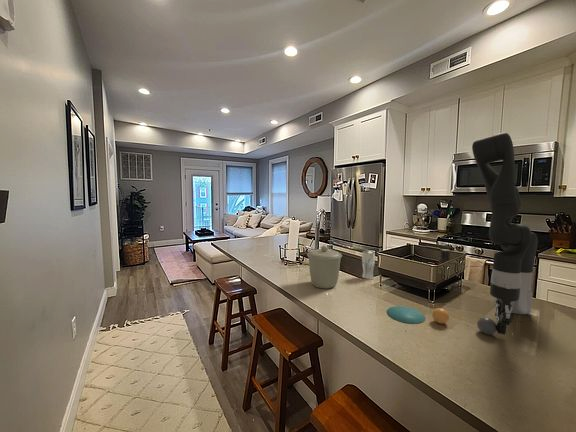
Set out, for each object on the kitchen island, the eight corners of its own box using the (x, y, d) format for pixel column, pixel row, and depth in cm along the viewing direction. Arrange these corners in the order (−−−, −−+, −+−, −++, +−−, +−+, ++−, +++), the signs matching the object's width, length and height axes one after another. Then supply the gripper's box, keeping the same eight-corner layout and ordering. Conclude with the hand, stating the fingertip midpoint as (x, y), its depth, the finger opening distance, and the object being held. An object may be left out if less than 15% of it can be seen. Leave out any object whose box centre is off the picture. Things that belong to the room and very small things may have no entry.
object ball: (448, 321, 97) (449, 307, 97) (448, 328, 93) (449, 313, 92) (432, 317, 100) (432, 304, 100) (431, 323, 96) (432, 309, 95)
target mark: (426, 311, 105) (426, 311, 105) (423, 327, 93) (423, 327, 93) (390, 303, 112) (390, 303, 112) (383, 317, 100) (383, 317, 100)
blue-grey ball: (494, 331, 90) (496, 316, 90) (497, 339, 86) (498, 324, 85) (475, 327, 93) (476, 313, 92) (477, 334, 88) (478, 319, 88)
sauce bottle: (453, 291, 126) (455, 251, 124) (439, 290, 127) (441, 251, 125) (447, 286, 132) (450, 248, 130) (434, 285, 134) (436, 248, 132)
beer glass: (374, 276, 148) (375, 251, 146) (374, 280, 141) (375, 253, 140) (361, 275, 150) (362, 250, 149) (361, 279, 144) (361, 252, 142)
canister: (346, 282, 138) (347, 244, 136) (333, 294, 123) (334, 251, 120) (316, 276, 147) (316, 241, 145) (300, 287, 132) (300, 247, 130)
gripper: (486, 275, 92) (483, 321, 94) (495, 288, 81) (491, 339, 83) (513, 279, 89) (509, 326, 91) (527, 292, 77) (521, 346, 79)
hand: (500, 332), depth 87 cm, fingers closed
